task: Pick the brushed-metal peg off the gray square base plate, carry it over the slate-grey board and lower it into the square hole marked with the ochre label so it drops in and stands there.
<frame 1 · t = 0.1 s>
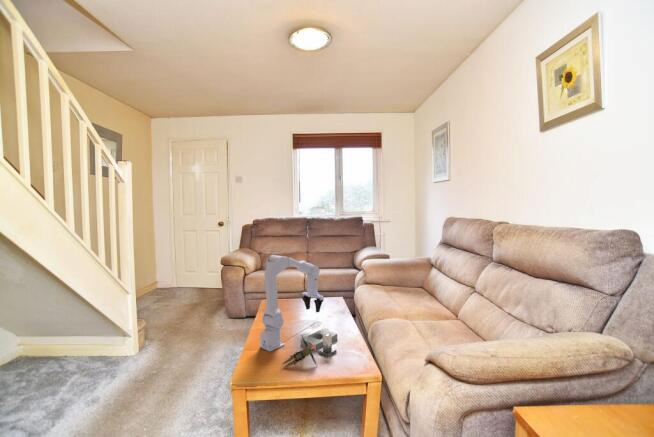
hand: (312, 310, 168), 10 cm above the table, tool pointing down, fingers open, 7 cm apart
gray square base plate: (327, 353, 139), on the table
samurai figurine: (296, 364, 130), on the table
hole board: (319, 342, 150), on the table
metal peg: (327, 349, 139), point 1 cm above the table, touching gray square base plate
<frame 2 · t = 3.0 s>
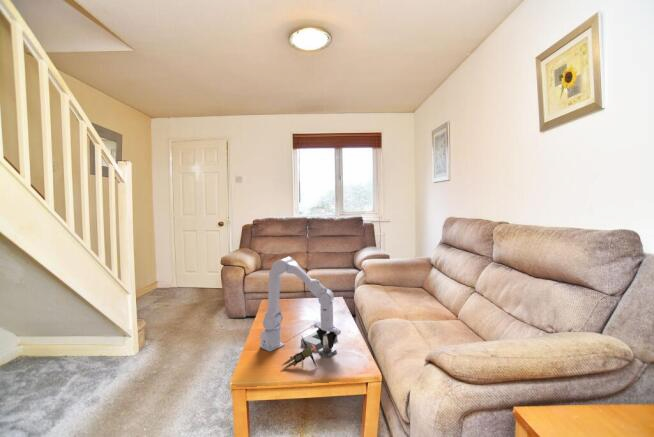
hand: (327, 346, 139), 3 cm above the table, tool pointing down, fingers closed on metal peg, 4 cm apart
samurai figurine: (296, 365, 129), on the table
metal peg: (327, 349, 139), point 1 cm above the table, touching gripper, gray square base plate
when the fingers open (4 cm above the table, at t = 6.5 s): metal peg drops 3 cm, resting in hole board.
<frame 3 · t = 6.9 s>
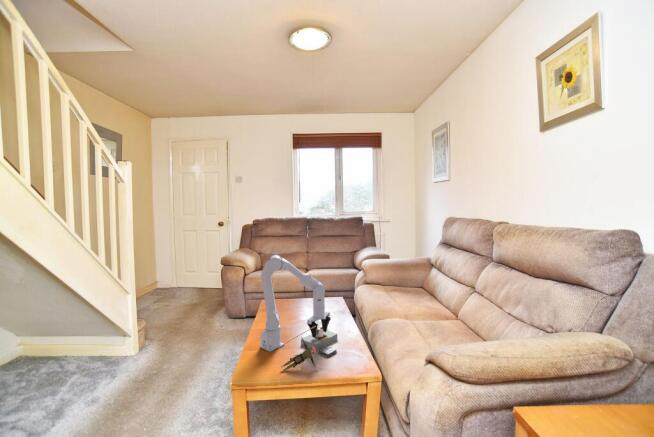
hand: (319, 334, 150), 4 cm above the table, tool pointing down, fingers open, 7 cm apart
samurai figurine: (296, 367, 127), on the table
metal peg: (319, 342, 150), resting in hole board
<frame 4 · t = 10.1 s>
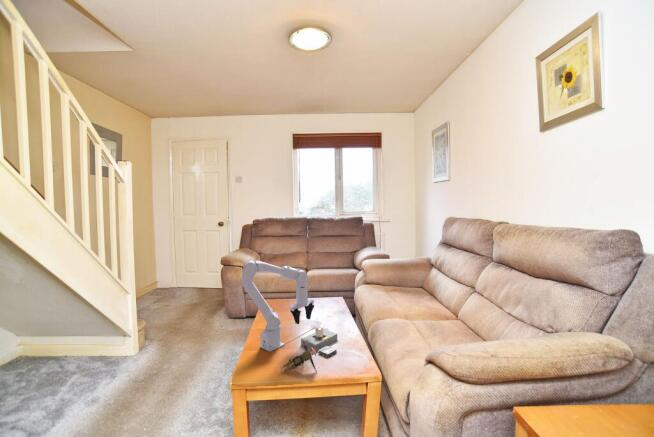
hand: (302, 321, 151), 10 cm above the table, tool pointing down, fingers open, 7 cm apart
samurai figurine: (296, 368, 126), on the table
everything else where it was.
at the end: metal peg 0.0 cm off-centre on the hole board, point 0.0 cm above the hole board's base; metal peg tilted 0°; the gripper is holding nothing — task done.
